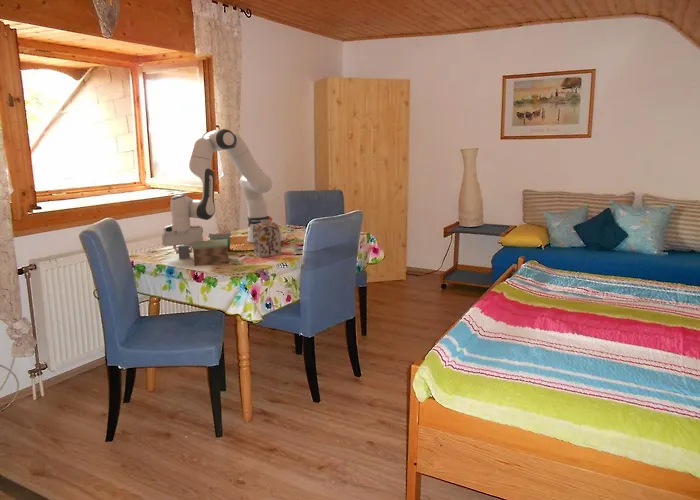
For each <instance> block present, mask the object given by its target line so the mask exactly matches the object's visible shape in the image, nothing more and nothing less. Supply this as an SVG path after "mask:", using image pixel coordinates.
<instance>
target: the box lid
mask: <svg viewBox="0 0 700 500" xmlns="http://www.w3.org/2000/svg"><path fill="white" fill-rule="evenodd" d="M191 247H192V246H191ZM220 247H228V244H227V239H222V240H210V239H209V240H203V241H194V243H193V247H192V250H193V249H207V248H220Z"/></svg>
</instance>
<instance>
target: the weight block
mask: <svg viewBox="0 0 700 500" xmlns="http://www.w3.org/2000/svg"><path fill="white" fill-rule="evenodd" d="M189 249H190V246H189V245H178V247H177V250H178V251H179V254H178V258H179V260H182V259H183V260H184V259H185V260H186V259H190V258H191V253H189Z"/></svg>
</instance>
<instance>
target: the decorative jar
mask: <svg viewBox="0 0 700 500" xmlns="http://www.w3.org/2000/svg"><path fill="white" fill-rule="evenodd" d="M278 225H279V224H278V223H276V222H274V221H273V222H272V221H271V222H270V220H261V223H257V224H255V225H254V227H253V242H252V243H253V252H254V254H255V255H256V256H257V257H258V258H266V257H273V256H274V257H275V256H282V247H281V245H282V243H281V242H282V241H280V230H279V228H280V227H279V226H278Z"/></svg>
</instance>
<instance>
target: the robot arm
mask: <svg viewBox="0 0 700 500" xmlns="http://www.w3.org/2000/svg"><path fill="white" fill-rule="evenodd" d="M224 150H226V152H227V153H228V156H229V158H230V159H231V160H232V162H233V165H234V166H235V168H236V170H237V171H238V172H239V173H240V174H241V176H240V178H239V182H238V183H239V187H241V189H242V191H243V194H244V197H245V201H246V206H247V219H246V221H247V226H248V232H247V233H248V234H247V240H246V242H247V243H253V227H254V225H255V224H257V223H261V220H270V222H272V221H273V217H272V216H269V215H268V208H267V207H268V204H267V201H266V199H265V197H264V195H263V194H265V193H267V192H269V191H270V190H271V189H272V188H273V181H272V180H273V179H271V177H270V176H269V175H267V173H266V172H264V171H263V168H262V167H261V166H260V165H259V164H258V163H257V162H256V160H255V158H254V157H253V155H252V152H251V150H250V149H249V147H248V145H247V143H246V142H245V140H244V138H242V137H241V135H240V134H238V133H233V132H232V130H231V129H227V128H222V129H221V128H220V129H214V130H212V131H211V130H210V131H207V132H206V133H204V134H203V135H202V136H201V137H199V138H197V139H195V140H194V142H193V144H192V147H191V151H190V156H189V161H188V162H189V164H188V168H189V170H190V172H191V173H192V174H193V175H194V176H195V177H198V178H199V179H200V181H201V182H202V195H201V196H202V197H201V199H194V198H191V197H189V196H187V195H186V194H184V193H180V194H175V195H173V196H172V197H171V198H170V202H169V203H170V214H171V217H172V218H171V223H170V224H168V225H165V226H164V227H163V234H162V235H161V236H162V237H161V244H162V245H163V247H173V249H174V251H175V254H176V255H179V251H178V248H177V246H180V245H187V244H191V246H190V248H189V253H190V254H191V253H193V248H192V247H193V243H194V241H204V236H203V233H204V228H203V227H202V225H201V226H200V225H191V219H190V218H193V219H199V220H206V221H207V220H210V219H212V217H214V215H215V212H216V207H215V206H216V205H215V174H214V171H213V169H212V163H213V162H212V160H213V155H214V152H221V151H224ZM279 230H280V242H283V241H286V240H287V236H285V235H283V232H282V229H281V228H280V227H279Z"/></svg>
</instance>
